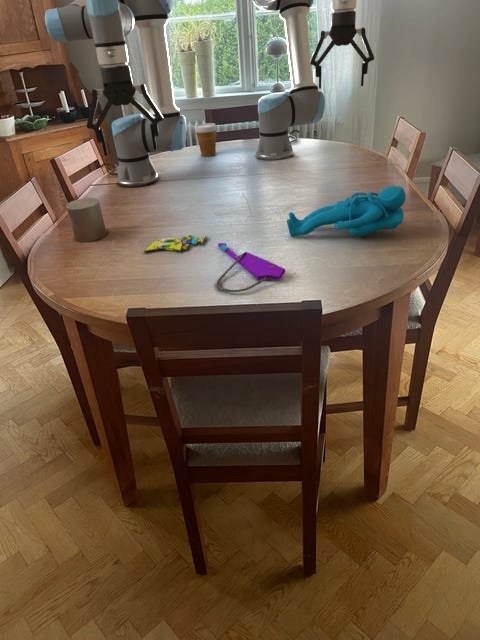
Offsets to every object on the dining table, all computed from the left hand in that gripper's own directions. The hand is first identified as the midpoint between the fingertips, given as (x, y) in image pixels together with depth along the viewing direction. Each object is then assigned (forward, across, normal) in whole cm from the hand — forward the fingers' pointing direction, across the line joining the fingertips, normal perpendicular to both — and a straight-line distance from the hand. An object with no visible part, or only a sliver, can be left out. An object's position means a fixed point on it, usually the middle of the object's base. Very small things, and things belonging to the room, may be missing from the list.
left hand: (131, 151), depth 133 cm
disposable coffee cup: (+21, +26, +76) cm, 83 cm away
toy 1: (+22, +9, -18) cm, 29 cm away
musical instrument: (+22, +23, -38) cm, 49 cm away
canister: (+22, -16, -3) cm, 27 cm away
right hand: (-7, +69, +29) cm, 75 cm away
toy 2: (+22, +53, -25) cm, 63 cm away
